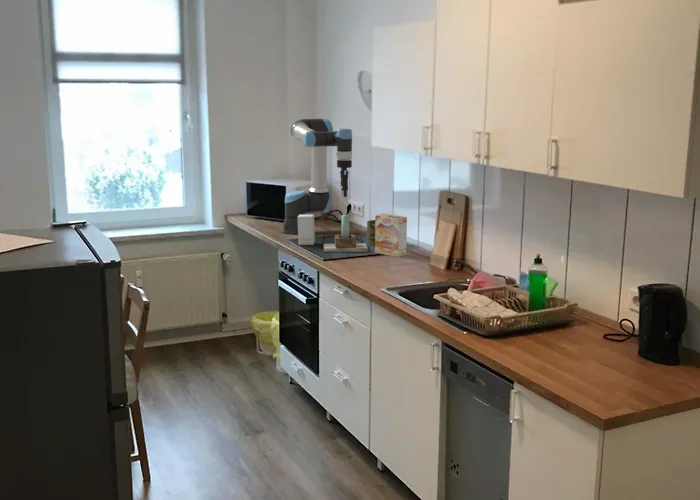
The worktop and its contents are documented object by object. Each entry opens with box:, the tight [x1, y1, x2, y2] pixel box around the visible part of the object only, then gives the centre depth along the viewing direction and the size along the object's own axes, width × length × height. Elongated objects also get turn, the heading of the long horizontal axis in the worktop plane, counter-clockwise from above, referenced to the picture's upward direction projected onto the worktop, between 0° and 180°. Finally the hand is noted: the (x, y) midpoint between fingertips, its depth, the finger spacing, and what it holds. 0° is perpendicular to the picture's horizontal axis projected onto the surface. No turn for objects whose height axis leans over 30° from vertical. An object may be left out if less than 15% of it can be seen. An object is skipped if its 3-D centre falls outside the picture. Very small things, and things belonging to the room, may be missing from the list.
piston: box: [366, 219, 375, 246], centre depth 405 cm, size 11×12×11 cm
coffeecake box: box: [374, 213, 408, 258], centre depth 380 cm, size 15×7×20 cm, turn 50°
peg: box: [340, 214, 350, 238], centre depth 391 cm, size 4×4×16 cm
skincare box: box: [297, 214, 316, 246], centre depth 404 cm, size 8×7×16 cm
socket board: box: [323, 234, 369, 253], centre depth 392 cm, size 14×22×6 cm, turn 94°
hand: (344, 201), depth 389 cm, fingers open, 13 cm apart
